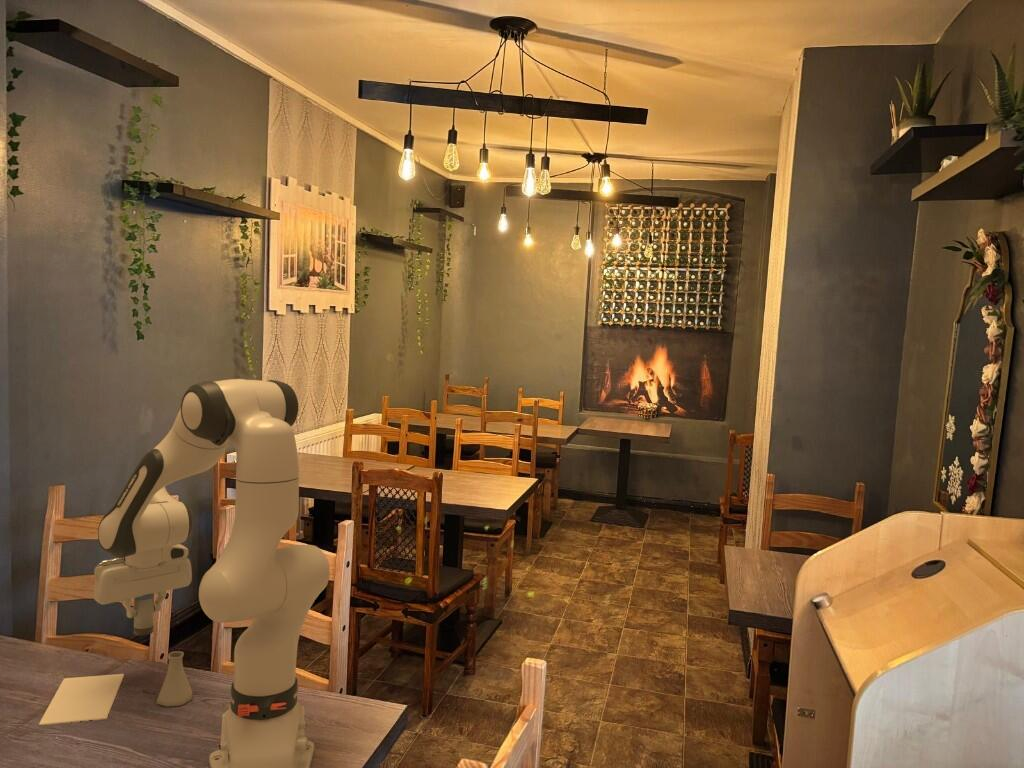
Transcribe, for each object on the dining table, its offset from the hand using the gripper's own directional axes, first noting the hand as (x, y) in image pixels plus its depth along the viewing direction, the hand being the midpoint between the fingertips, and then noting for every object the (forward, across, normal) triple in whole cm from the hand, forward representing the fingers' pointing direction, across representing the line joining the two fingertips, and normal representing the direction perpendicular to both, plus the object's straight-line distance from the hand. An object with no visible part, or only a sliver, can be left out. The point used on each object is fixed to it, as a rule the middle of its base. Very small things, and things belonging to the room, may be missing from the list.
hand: (144, 613), depth 172 cm
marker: (+4, 0, 0) cm, 4 cm away
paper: (+15, -13, -1) cm, 19 cm away
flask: (+15, +1, -14) cm, 21 cm away
